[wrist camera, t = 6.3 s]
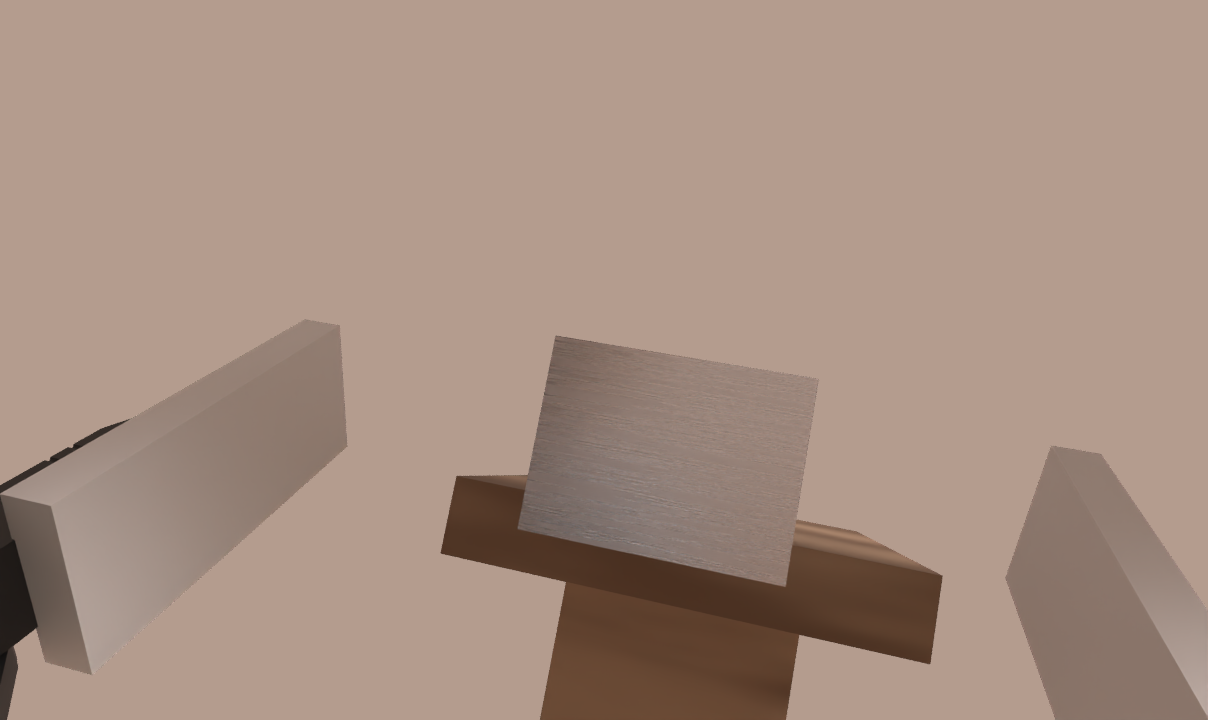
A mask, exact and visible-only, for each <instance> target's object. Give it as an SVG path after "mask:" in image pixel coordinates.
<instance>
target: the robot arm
mask: <svg viewBox="0 0 1208 720" xmlns="http://www.w3.org/2000/svg"><path fill="white" fill-rule="evenodd" d="M346 447H347V435H346V419H345V403H344V388H343V372H342V356H341V340H340V326H339V325H334V324H328V323H322V322H316V321H310V320H303V321H302V322H300V323H298V324H296V325H295V326H293V327H291V328H289V329H288V330H286V331H284V332H282V333H281V334H279V335H277V336H275V337H274V338H272V339H270V340H268V341H267V342H265V343H263V344H261V345H260V346H258V347H256V348H254V349H253V350H251V351H249V352H247V353H246V354H244V355H242V356H240V357H239V358H237V359H235V360H233V361H232V362H230V363H228V364H227V365H225V366H223V367H221V368H219V369H218V370H216V371H214V372H212V373H211V374H209V375H207V376H205V377H203V378H202V379H200V380H198V381H197V382H195V383H193V384H192V385H189V386H188V387H186V388H184V389H183V390H181V391H179V392H177V393H175V394H174V395H172V396H171V397H168V398H167V399H165V400H163V401H162V402H160V403H158V404H156V405H154V406H153V407H151V408H149V409H148V410H146V411H144V412H142V413H140V414H139V415H137V416H135V417H133V418H132V419H129V420H126V421H123V422H120V423H117V424H113V425H110V426H107V427H104V428H102V429H100V430H98V431H96V432H94V433H93V434H91V435H89V436H88V437H85V438H84V439H82V440H80V441H78V442H77V443H75V444H74V446H73V448H69V447H68V448H66V449H64V450H62V451H61V452H59V453H57V454H55V455H53V456H52V457H51V458H50V461H43V462H41V463H39V464H37V465H36V466H34V467H32V468H30V469H28V470H27V471H25V472H23V473H21V474H20V475H18V476H16V477H14V478H13V479H11V480H9V481H7V482H5V483H3V484H2V485H0V720H7V717H8V712H9V707H10V703H11V698H12V693H13V688H14V684H15V679H16V674H17V670H18V664H17V657H16V653H15V650H14V647H13V646H14V645H15V644H16V643H18V642H19V641H20V640H21V639H23V638H24V637H25V636H27V635H28V634H29V633H30V632H32V631H33V630H34V629H35V628H36V629H37V633H38V637H39V640H40V644H41V648H42V652H43V655H44V659H45V662H47V663H51V664H54V665H58V666H62V667H65V668H69V669H72V670H76V671H80V672H83V673H87V674H90V675H93V674H94V673H95V672H96V671H97V670H98V669H99V668H100V667H102V666H103V665H104V664H105V663H106V662H107V661H108V660H109V659H110V658H112V657H113V656H114V655H115V654H116V653H117V652H118V651H119V650H121V649H122V648H123V647H124V646H125V645H126V644H127V643H128V642H130V641H131V640H132V639H133V638H134V637H135V636H136V635H137V634H139V633H140V632H141V631H142V630H143V629H144V628H145V627H146V626H147V625H148V624H150V623H151V622H152V621H153V620H154V619H155V618H156V617H157V616H159V615H160V614H161V613H162V612H163V611H164V610H165V609H166V608H168V607H169V606H170V605H171V604H172V603H173V602H174V601H175V600H176V599H178V598H179V597H180V596H181V595H182V594H183V593H184V592H185V591H186V590H188V589H189V588H190V587H191V586H192V585H193V584H194V583H195V582H197V581H198V580H199V579H200V578H201V577H202V576H203V575H204V574H205V573H207V572H208V571H209V570H210V569H211V568H212V567H213V566H214V565H215V564H217V563H218V562H219V561H220V560H221V559H222V558H223V557H224V556H226V555H227V554H228V553H229V552H230V551H231V550H232V549H233V548H234V547H236V546H237V545H238V544H239V543H240V542H241V541H242V540H243V539H245V538H246V537H247V536H248V535H249V534H250V533H251V532H252V531H253V530H255V529H256V528H257V527H258V526H259V525H260V524H261V523H262V522H263V521H265V520H266V519H267V518H268V517H269V516H270V515H271V514H272V513H274V512H275V511H276V510H277V509H278V508H279V507H280V506H281V505H282V504H284V503H285V502H286V501H287V500H288V499H289V498H290V497H291V496H293V495H294V494H295V493H296V492H297V491H298V490H299V489H300V488H301V487H303V486H304V485H305V484H306V483H307V482H308V481H309V480H310V479H311V478H313V477H314V476H315V475H316V474H317V473H318V472H319V471H320V470H321V469H323V468H324V467H325V466H326V465H327V464H328V463H329V462H330V461H332V459H334V458H335V457H336V456H337V455H338V454H339V453H340V452H342V451H343V450H344V449H345V448H346ZM1006 581H1007V584H1008V586H1009V589H1010V592H1011V595H1012V598H1013V601H1014V604H1015V606H1016V609H1017V612H1018V615H1019V618H1020V621H1021V623H1022V626H1023V629H1024V632H1025V635H1026V638H1027V640H1028V643H1029V646H1030V649H1031V652H1032V655H1033V657H1034V660H1035V663H1036V666H1037V669H1038V671H1039V674H1040V677H1041V680H1042V683H1043V686H1044V688H1045V691H1046V694H1047V697H1048V700H1049V703H1050V705H1051V708H1052V711H1053V714H1054V717H1055V720H1208V610H1207V609H1206V607H1205V606H1204V604H1203V603H1202V601H1201V600H1200V598H1199V597H1198V596H1197V594H1196V593H1195V591H1194V590H1193V588H1192V587H1191V585H1190V584H1189V582H1188V581H1187V579H1186V578H1185V576H1184V575H1183V574H1182V572H1181V571H1180V569H1179V568H1178V566H1177V565H1176V563H1175V562H1174V560H1173V559H1172V557H1171V556H1170V555H1169V553H1168V552H1167V550H1166V549H1165V547H1164V546H1163V544H1162V543H1161V541H1160V540H1159V538H1158V537H1157V536H1156V534H1155V533H1154V531H1153V530H1152V528H1151V527H1150V525H1149V524H1148V522H1147V521H1146V519H1145V518H1144V516H1143V515H1142V514H1141V512H1140V510H1139V509H1138V508H1137V506H1136V505H1135V503H1134V502H1133V500H1132V499H1131V497H1130V496H1129V494H1128V493H1127V491H1126V490H1125V489H1124V487H1123V486H1122V484H1121V483H1120V482H1119V480H1118V478H1117V477H1116V475H1115V474H1114V473H1113V471H1112V469H1111V468H1110V467H1109V465H1108V464H1107V462H1106V461H1105V459H1104V458H1103V456H1102V455H1101V454H1098V453H1091V452H1086V451H1080V450H1074V449H1068V448H1062V447H1056V446H1051V448H1050V451H1049V453H1048V457H1047V459H1046V462H1045V465H1044V468H1043V471H1042V474H1041V477H1040V480H1039V482H1038V485H1037V488H1036V491H1035V494H1034V497H1033V500H1032V503H1031V506H1030V509H1029V511H1028V514H1027V517H1026V520H1025V523H1024V526H1023V529H1022V532H1021V535H1020V537H1019V540H1018V543H1017V546H1016V549H1015V552H1014V555H1013V558H1012V561H1011V564H1010V566H1009V569H1008V572H1007V575H1006Z"/></svg>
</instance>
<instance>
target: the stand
mask: <svg viewBox="0 0 1208 720" xmlns="http://www.w3.org/2000/svg"><path fill="white" fill-rule="evenodd" d="M527 478H528V475H508V476H507V475H504V476H457V477H456V481H455V486H454V491H453V496H452V501H451V505H450V510H449V515H448V520H447V525H446V530H445V534H444V539H443V544H442V549H441V554H445V555H450V556H454V557H459V558H463V559H467V560H472V561H476V562H481V563H485V564H489V565H494V566H498V567H503V568H507V569H512V570H516V571H521V572H525V573H530V574H534V575H538V576H542V577H547V578H551V579H556V580H560V581H565V582H566V585H565V591H564V596H563V602H562V606H561V612H560V617H559V622H558V627H557V633H556V638H555V643H554V649H553V654H552V659H551V665H550V670H549V675H548V681H547V686H546V691H545V696H544V701H543V707H542V712H541V717H540V720H786V715H787V709H788V703H789V696H790V690H791V684H792V677H793V671H794V664H795V658H796V652H797V646H798V639H799V635H804V636H807V637H812V638H817V639H821V640H825V641H830V642H835V643H838V644H843V645H847V646H852V647H856V648H861V649H865V650H869V651H874V652H878V653H882V654H887V655H891V656H896V657H900V658H905V659H909V660H913V661H918V662H922V663H927V664H930V662H931V655H932V648H933V640H934V633H935V626H936V619H937V611H938V605H939V597H940V591H941V583H942V575H940V574H938V573H936V572H934V571H932V570H930V569H928V568H926V567H924V566H922V565H921V564H919V563H917V562H915V561H913V560H911V559H909V558H907V557H905V556H903V555H901V554H899V553H897V552H895V551H893V550H891V549H889V548H888V547H886V546H884V545H882V544H880V543H878V542H876V541H874V540H872V539H870V538H868V537H866V536H864V535H862V534H860V533H858V532H856V531H851V530H846V529H841V528H836V527H831V526H826V525H821V524H816V523H810V522H806V521H801V520H796V524H795V531H794V537H793V543H792V549H791V555H790V562H789V568H788V574H787V580H786V587H784V586H779V585H774V584H770V583H765V582H760V581H756V580H751V579H747V578H742V577H737V576H733V575H728V574H723V573H719V572H714V571H709V570H705V569H700V568H696V567H691V566H686V565H682V564H677V563H672V562H668V561H663V560H658V559H654V558H649V557H645V556H640V555H635V554H631V553H626V552H621V551H617V550H612V549H607V548H603V547H598V546H594V545H589V544H584V543H580V542H575V541H570V540H566V539H561V538H556V537H552V536H547V535H543V534H538V533H533V532H529V531H524V530H519V529H518V524H519V519H520V514H521V509H522V503H523V498H524V493H525V488H526V483H527Z"/></svg>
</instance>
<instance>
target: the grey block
mask: <svg viewBox="0 0 1208 720" xmlns="http://www.w3.org/2000/svg"><path fill="white" fill-rule="evenodd" d="M818 381H819V379H816V378H810V377H804V376H798V375H791V374H785V373H779V372H773V371H767V370H761V369H754V368H749V367H743V366H737V365H730V364H725V363H718V362H712V361H706V360H700V359H694V358H688V357H682V356H675V355H670V354H664V353H658V352H652V351H646V350H639V349H633V348H628V347H621V346H615V345H609V344H603V343H597V342H591V341H585V340H579V339H573V338H567V337H561V336H556V337H555V342H554V347H553V352H552V357H551V362H550V367H549V372H548V377H547V382H546V387H545V392H544V398H543V403H542V407H541V413H540V417H539V423H538V428H537V433H536V438H535V443H534V448H533V454H532V458H531V463H530V468H529V473H528V478H527V483H526V488H525V493H524V498H523V503H522V509H521V514H520V519H519V524H518V529H519V530H524V531H529V532H533V533H538V534H543V535H547V536H552V537H556V538H561V539H566V540H570V541H575V542H580V543H584V544H589V545H594V546H598V547H603V548H607V549H612V550H617V551H621V552H626V553H631V554H635V555H640V556H645V557H649V558H654V559H658V560H663V561H668V562H672V563H677V564H682V565H686V566H691V567H696V568H700V569H705V570H709V571H714V572H719V573H723V574H728V575H733V576H737V577H742V578H747V579H751V580H756V581H760V582H765V583H770V584H774V585H779V586H784V587H786V580H787V574H788V568H789V562H790V555H791V549H792V543H793V537H794V531H795V524H796V518H797V512H798V505H799V499H800V493H801V486H802V481H803V474H804V468H805V461H806V456H807V449H808V443H809V437H810V430H811V424H812V418H813V412H814V406H815V399H816V393H817V387H818Z"/></svg>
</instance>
